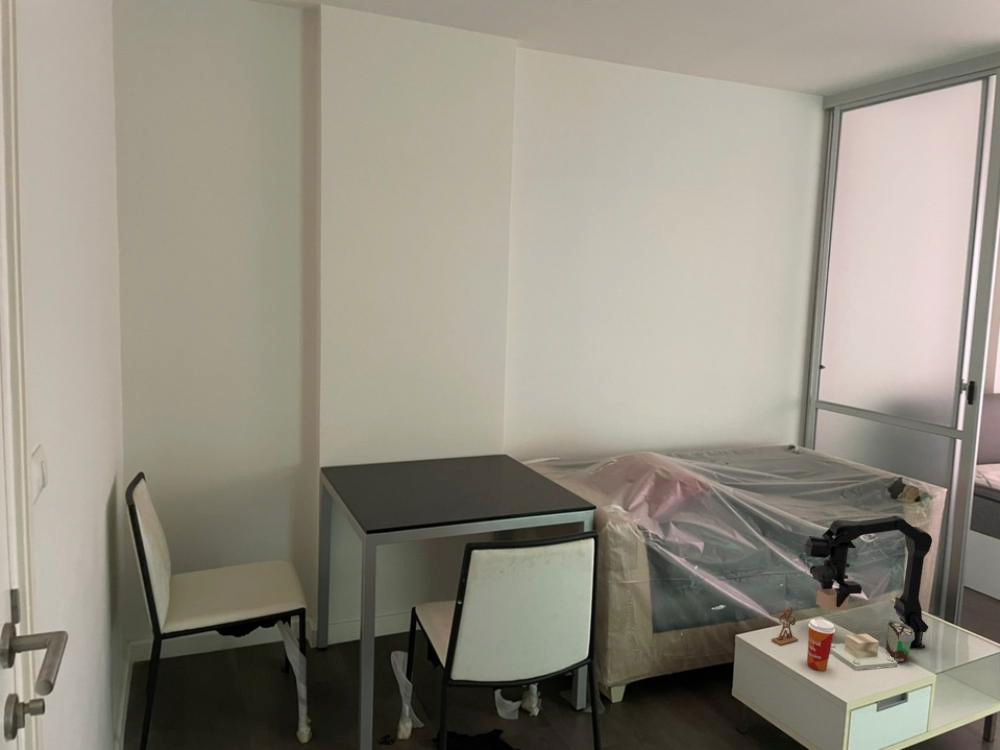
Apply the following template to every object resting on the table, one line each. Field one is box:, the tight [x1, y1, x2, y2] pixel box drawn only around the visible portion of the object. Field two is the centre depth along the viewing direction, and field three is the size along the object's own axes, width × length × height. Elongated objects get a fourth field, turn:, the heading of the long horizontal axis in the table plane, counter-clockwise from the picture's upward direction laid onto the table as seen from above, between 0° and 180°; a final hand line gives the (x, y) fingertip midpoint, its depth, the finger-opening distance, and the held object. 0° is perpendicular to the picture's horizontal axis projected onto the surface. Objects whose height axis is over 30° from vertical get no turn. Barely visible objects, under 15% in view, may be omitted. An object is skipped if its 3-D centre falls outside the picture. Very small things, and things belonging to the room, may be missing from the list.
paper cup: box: [806, 619, 836, 672], centre depth 237 cm, size 8×8×14 cm
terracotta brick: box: [815, 588, 850, 611], centre depth 259 cm, size 8×6×5 cm
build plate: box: [830, 642, 899, 671], centre depth 246 cm, size 16×14×2 cm
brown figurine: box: [770, 605, 799, 647], centre depth 254 cm, size 9×4×12 cm, turn 121°
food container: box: [885, 619, 915, 664], centre depth 248 cm, size 12×6×10 cm, turn 168°
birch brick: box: [844, 633, 880, 658], centre depth 246 cm, size 8×6×5 cm
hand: (832, 603), depth 259 cm, fingers closed on terracotta brick, 5 cm apart
